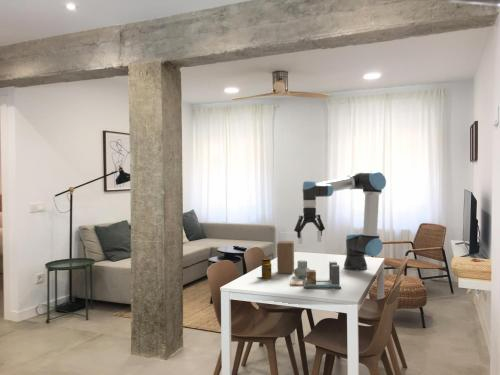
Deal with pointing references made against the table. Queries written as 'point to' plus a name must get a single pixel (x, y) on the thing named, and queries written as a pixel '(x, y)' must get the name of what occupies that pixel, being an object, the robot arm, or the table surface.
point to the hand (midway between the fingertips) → (309, 242)
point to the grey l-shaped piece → (334, 278)
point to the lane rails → (320, 286)
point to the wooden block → (285, 257)
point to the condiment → (266, 269)
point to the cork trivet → (296, 283)
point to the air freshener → (301, 269)
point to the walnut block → (311, 276)
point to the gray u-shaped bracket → (329, 274)
